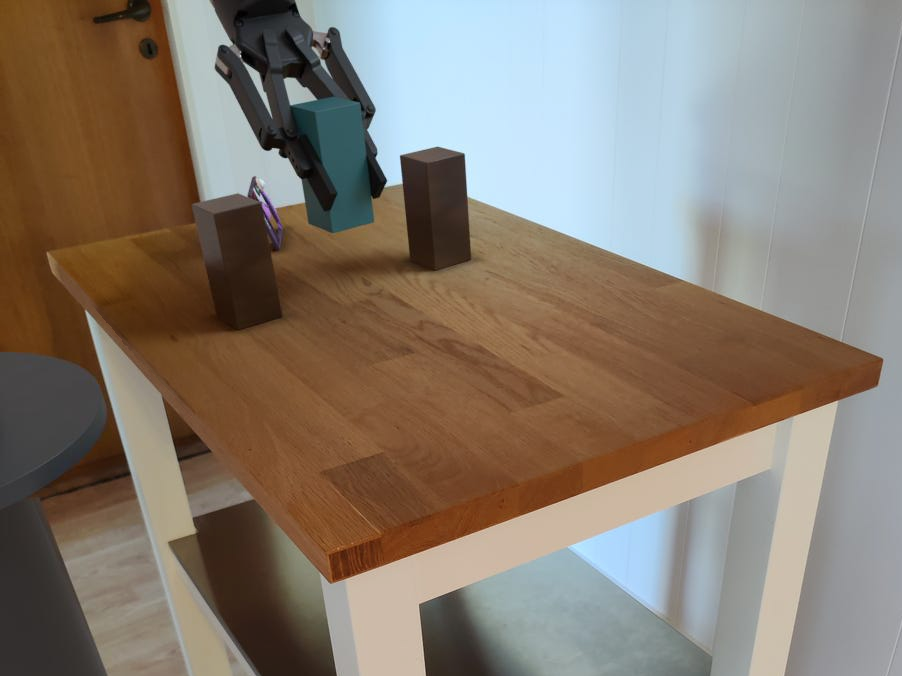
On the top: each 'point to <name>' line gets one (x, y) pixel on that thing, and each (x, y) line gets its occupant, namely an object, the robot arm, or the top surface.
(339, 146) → the teal block
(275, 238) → the purple open frame
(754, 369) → the top surface
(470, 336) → the top surface
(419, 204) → the walnut block back
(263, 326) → the top surface
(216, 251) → the walnut block front
